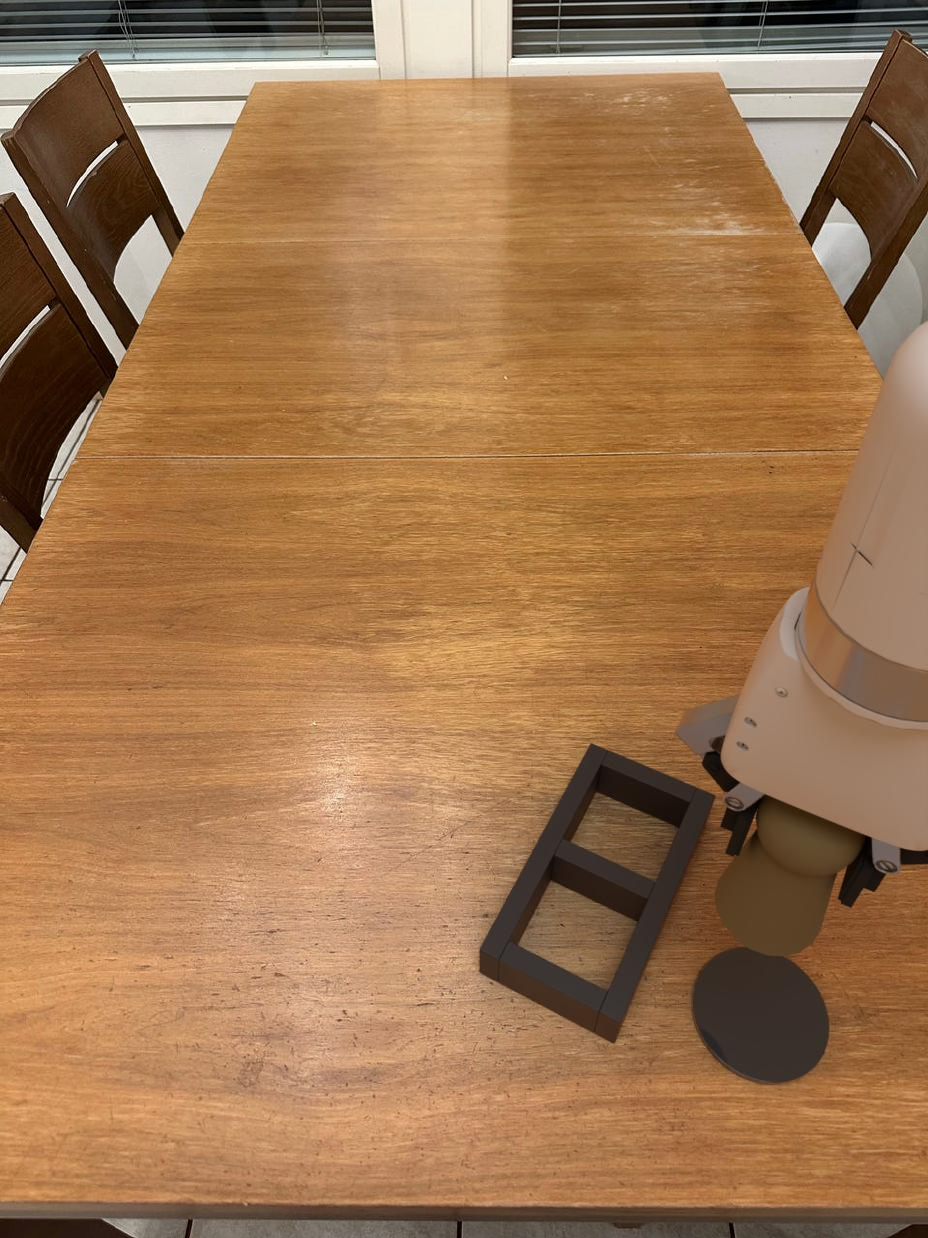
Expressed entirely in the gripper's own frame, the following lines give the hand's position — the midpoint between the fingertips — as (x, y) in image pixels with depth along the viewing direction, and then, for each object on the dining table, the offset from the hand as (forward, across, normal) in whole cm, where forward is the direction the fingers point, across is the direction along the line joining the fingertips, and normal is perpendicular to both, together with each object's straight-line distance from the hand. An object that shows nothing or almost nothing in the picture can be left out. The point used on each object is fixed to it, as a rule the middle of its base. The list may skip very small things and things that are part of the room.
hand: (794, 855), depth 50 cm
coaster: (+21, -2, 0) cm, 21 cm away
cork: (+6, 0, 0) cm, 6 cm away
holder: (+20, +11, -3) cm, 23 cm away
